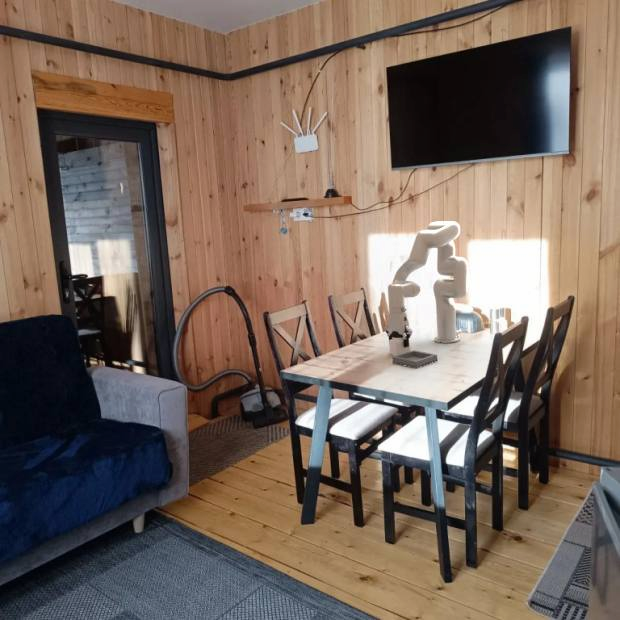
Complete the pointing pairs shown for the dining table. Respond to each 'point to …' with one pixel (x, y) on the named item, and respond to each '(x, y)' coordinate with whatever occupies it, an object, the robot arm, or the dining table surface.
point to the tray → (415, 358)
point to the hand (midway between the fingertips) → (399, 345)
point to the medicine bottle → (397, 344)
